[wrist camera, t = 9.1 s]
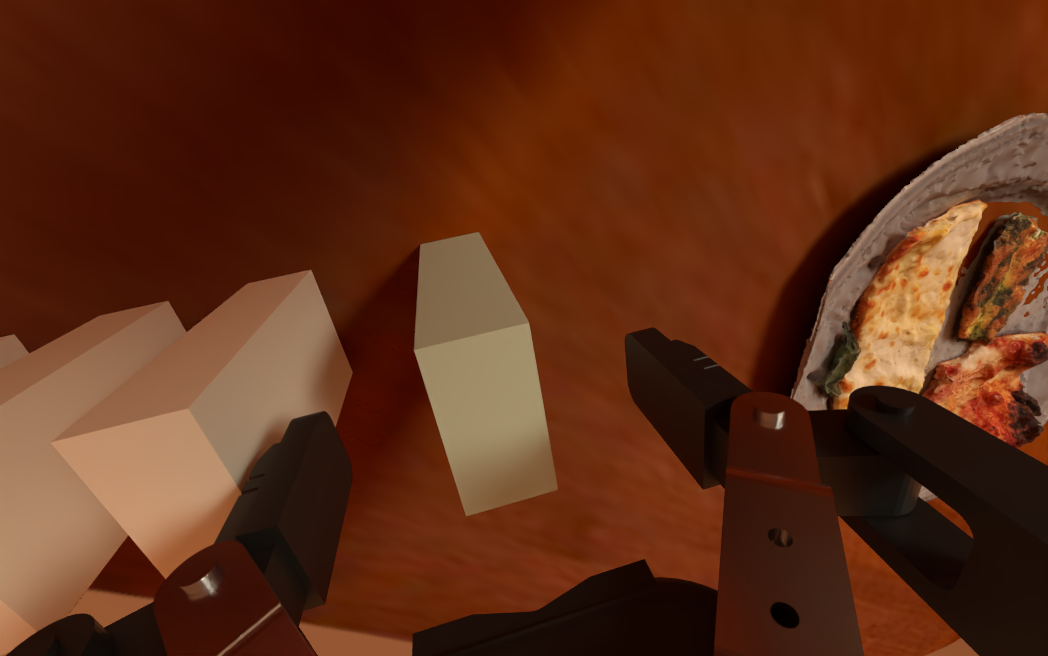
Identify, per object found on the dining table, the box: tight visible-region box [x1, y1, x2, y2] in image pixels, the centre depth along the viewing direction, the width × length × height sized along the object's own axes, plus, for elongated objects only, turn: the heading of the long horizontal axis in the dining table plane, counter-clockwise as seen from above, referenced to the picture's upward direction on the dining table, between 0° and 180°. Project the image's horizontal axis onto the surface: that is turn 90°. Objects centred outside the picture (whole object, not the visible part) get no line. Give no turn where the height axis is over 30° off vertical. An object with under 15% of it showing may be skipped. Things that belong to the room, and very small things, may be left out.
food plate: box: [790, 113, 1048, 502], centre depth 25 cm, size 25×23×4 cm
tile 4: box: [50, 270, 353, 579], centre depth 14 cm, size 2×5×10 cm, turn 10°
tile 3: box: [0, 301, 187, 655], centre depth 13 cm, size 2×5×10 cm, turn 11°
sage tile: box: [414, 232, 558, 516], centre depth 15 cm, size 2×5×10 cm, turn 10°
